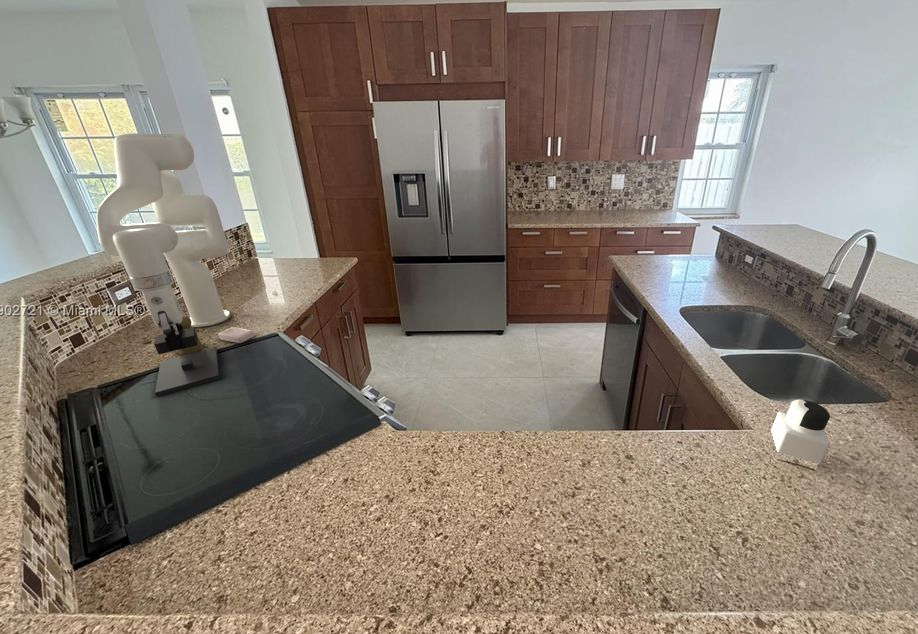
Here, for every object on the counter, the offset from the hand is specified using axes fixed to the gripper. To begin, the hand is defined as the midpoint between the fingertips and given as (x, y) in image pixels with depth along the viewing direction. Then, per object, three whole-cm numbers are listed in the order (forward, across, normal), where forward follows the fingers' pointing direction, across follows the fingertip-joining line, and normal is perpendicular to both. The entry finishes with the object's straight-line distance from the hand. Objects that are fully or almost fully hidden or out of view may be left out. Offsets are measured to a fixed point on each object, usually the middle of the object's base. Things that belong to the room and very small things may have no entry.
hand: (178, 343), depth 98 cm
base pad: (+9, 0, 0) cm, 9 cm away
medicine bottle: (+10, -110, -101) cm, 150 cm away
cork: (+9, +15, 0) cm, 18 cm away
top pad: (+1, 0, 0) cm, 1 cm away
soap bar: (+9, +15, -12) cm, 21 cm away
